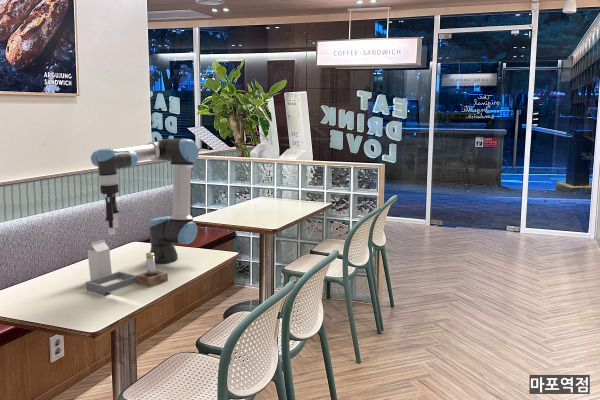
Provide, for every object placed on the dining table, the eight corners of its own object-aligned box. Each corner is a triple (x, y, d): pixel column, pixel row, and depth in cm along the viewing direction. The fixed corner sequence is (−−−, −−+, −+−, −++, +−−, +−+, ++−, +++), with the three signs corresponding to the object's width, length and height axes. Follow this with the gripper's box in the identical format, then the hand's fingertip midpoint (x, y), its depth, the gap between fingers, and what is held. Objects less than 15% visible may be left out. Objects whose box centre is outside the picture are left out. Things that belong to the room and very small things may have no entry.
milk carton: (112, 278, 262) (108, 240, 259) (99, 282, 257) (95, 243, 253) (102, 276, 266) (99, 238, 263) (90, 280, 261) (86, 242, 257)
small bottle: (152, 279, 254) (150, 251, 251) (157, 281, 252) (155, 253, 249) (146, 282, 251) (144, 253, 249) (151, 283, 249) (149, 254, 246)
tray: (120, 279, 261) (119, 271, 260) (139, 284, 253) (138, 276, 252) (86, 290, 247) (85, 281, 246) (105, 296, 238) (104, 287, 238)
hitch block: (154, 279, 258) (153, 269, 258) (168, 283, 253) (167, 273, 252) (136, 285, 251) (135, 275, 250) (150, 289, 245) (150, 279, 244)
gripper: (103, 180, 250) (108, 225, 254) (95, 189, 226) (101, 238, 230) (120, 179, 252) (125, 224, 256) (114, 188, 228) (119, 237, 232)
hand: (113, 231), depth 243 cm, fingers open, 13 cm apart
